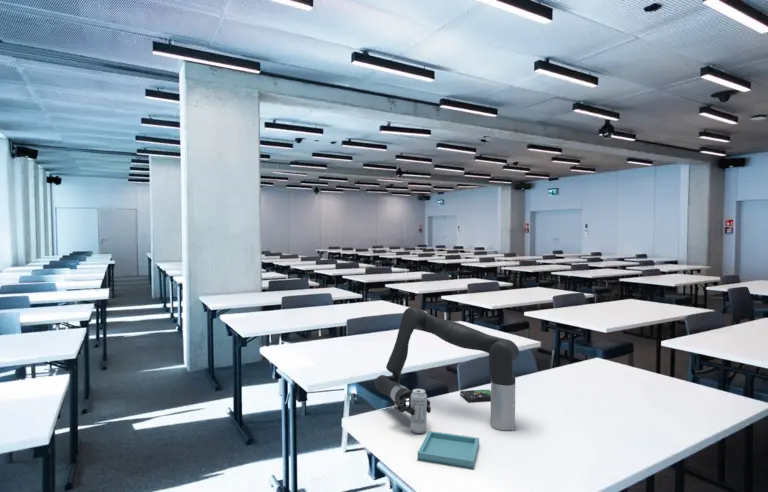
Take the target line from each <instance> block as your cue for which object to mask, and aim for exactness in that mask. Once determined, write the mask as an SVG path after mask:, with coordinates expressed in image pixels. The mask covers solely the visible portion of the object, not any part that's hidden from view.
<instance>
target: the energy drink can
mask: <svg viewBox="0 0 768 492" xmlns="http://www.w3.org/2000/svg"><path fill="white" fill-rule="evenodd" d="M411 392H412V394H411V407H412V408H413V409H414V411H415V413H414V415H411V414H410V423H409V424H410V430H411V432H412V433H414V434H424V433H425V432H426V430H427V425H428V423H427V419H428V417H427V415H428V413H427V399H428V394H427V393H426V390H425V389H423V388H415V389H412V391H411Z"/></svg>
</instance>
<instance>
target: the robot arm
mask: <svg viewBox="0 0 768 492" xmlns="http://www.w3.org/2000/svg"><path fill="white" fill-rule="evenodd" d="M414 330H415V331H422V332H425V333H427V334H428V333H429V334H432V335H434V336H436V337H438V338H439V339H440V340H443V341H444V342H446V343H448V344H451V345H453V346H456V347H459V348H462V349H465V350H466V349H467V350H474V351H479V352H480V351H481V352H485V353H487V354H488V368H489V369H488V371H489V375H490V391H491V402H490V417H489V419H490V420H489V421H490V423H489V424H490V426H491V427H492V428H493V429H495V430H498V431H515V429H516V375H515V374H514V373H513V362H515V361H516V360H517V359H518V358H519V355H520V350H519V347H518V346H517V345H516V343H515V342H514V341H512V340H510V339H507V338H503V337H498V336H494V335H491V334H489V333H488V334H487V333H485V332H484V331H483V332H482V331H480V330H477V329H474V328H472V327H470V326H467V325H464V324H462V323H459V322H456V321H452V320H448V319H443V318H438V317H436V316H434V315H431V314H430V313H427V311H424V310H422V309H420V308H416V307H415V306H410V307H408V308H406V309H404V312H403V313H402V316H401V320H400V325H399V328H398V332H397V335H396V340H395V343H394V346H393V349H392V351H391V354H390V355H389V358H388V361H387V364H386V367H385V368H386V370H387V371H388V372H390V373H391V374H392V376H391V377H390V376H387V375H384V374H382V375H379V376H377V377H376V379H375V381H374V385H375V386H374V387H375V389H376V390H377V391H378V392H379V393H381V394H382V395H385V396H386V397H388V398H390V399H391V400H392V401H393V403H394V405H393V406H394V407H393V408H394V409H395V410H397V411H398V412H400V413H405V412H406V413H408V414H410V416H411V415H414V413H415V411H414V409H413V408H412V407H411V394H412V392H413V391H411V390H410V389H409V388H407V387H406V386H404V385H402V384H400V383H401V382H400V381H401V377H402V376H401V375H402V370H403V369H404V367H405V363H406V362H407V361H406V360H407V357H408V354H409V344H410V340H411V336H412V335H413V332H414ZM431 411H432V407H431V401H430V400H429V399H428V398H427V414H430V413H431Z"/></svg>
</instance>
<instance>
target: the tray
mask: <svg viewBox="0 0 768 492" xmlns="http://www.w3.org/2000/svg"><path fill="white" fill-rule="evenodd" d="M479 447H480V437H475V436H466V435H462V434H461V435H460V434H459V435H458V434H454V433H445V432H438V431H431V430H428V433H426V437H424V440H423V442H422V443H421V446H419V450H418V452H417V461H421V462H427V463H433V464H437V465H438V464H439V465H444V466H445V465H446V466H452V467H457V468H463V469H469V470H474V469H475V465H476V461H477V457H478V456H477V455H478V452H479Z"/></svg>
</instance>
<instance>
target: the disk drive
mask: <svg viewBox="0 0 768 492" xmlns="http://www.w3.org/2000/svg"><path fill="white" fill-rule="evenodd" d="M459 396H460V397H461V398H462V399H463V400H464V401H466V402H467V403H468V404H471V403H473V404H474V403H487V402H489V403H491V389H472V390H471V389H470V390H460V391H459Z"/></svg>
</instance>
